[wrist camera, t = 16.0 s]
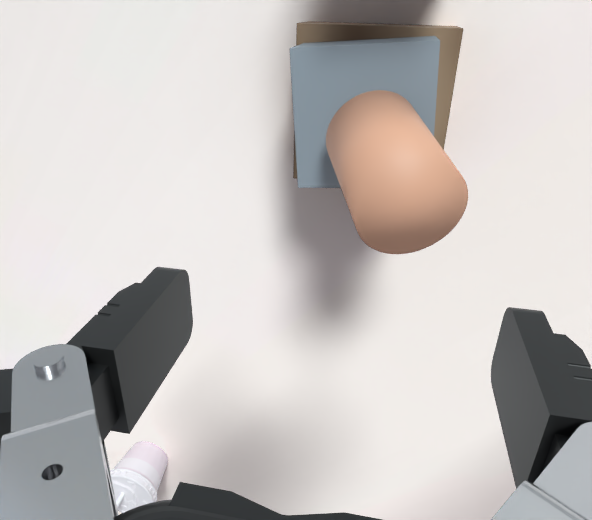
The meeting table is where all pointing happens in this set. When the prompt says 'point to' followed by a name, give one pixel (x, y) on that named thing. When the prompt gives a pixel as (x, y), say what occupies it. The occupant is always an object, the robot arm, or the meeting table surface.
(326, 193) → the meeting table surface
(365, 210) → the peach capsule
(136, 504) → the smoothie
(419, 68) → the tower top
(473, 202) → the meeting table surface
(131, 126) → the meeting table surface
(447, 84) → the tower base
